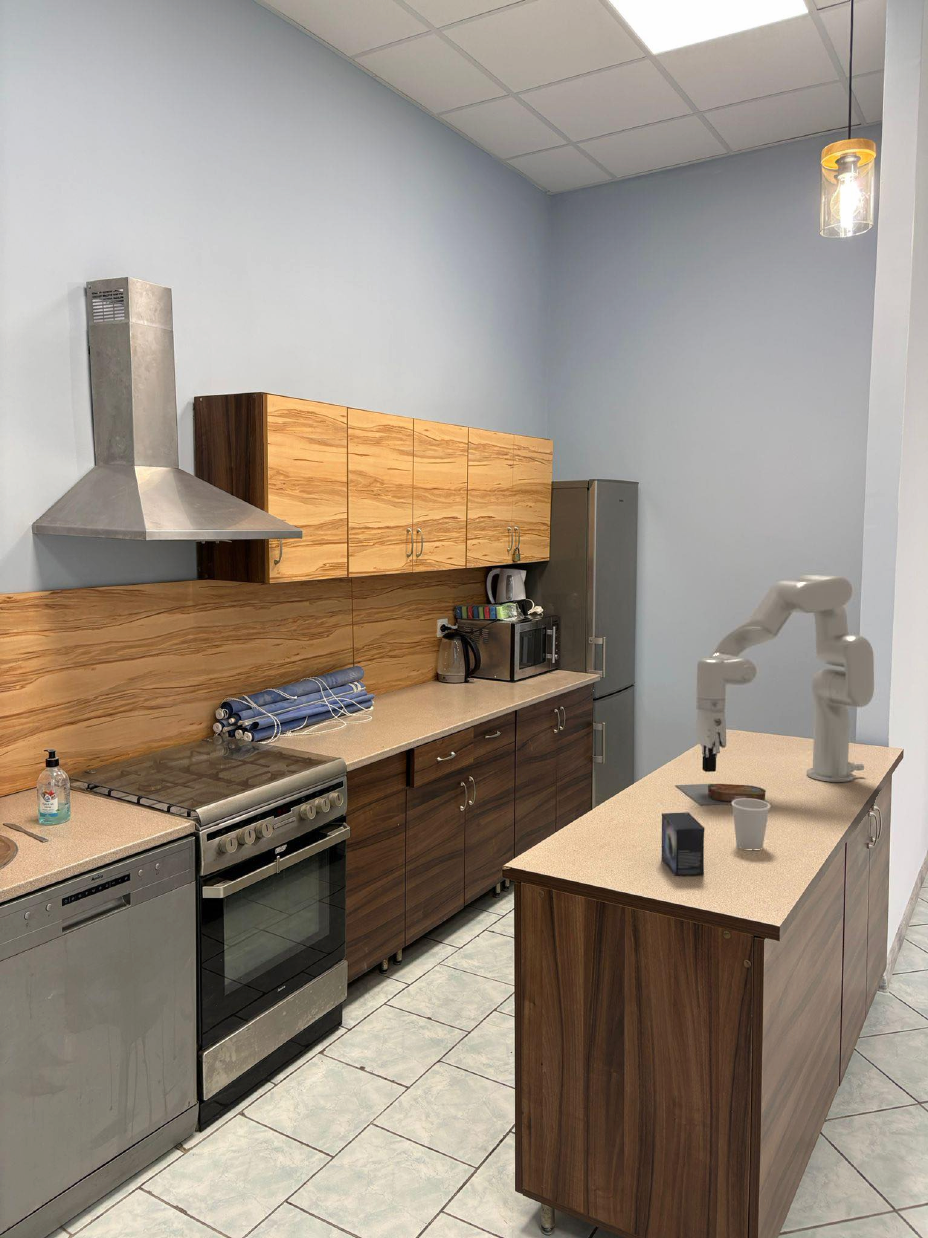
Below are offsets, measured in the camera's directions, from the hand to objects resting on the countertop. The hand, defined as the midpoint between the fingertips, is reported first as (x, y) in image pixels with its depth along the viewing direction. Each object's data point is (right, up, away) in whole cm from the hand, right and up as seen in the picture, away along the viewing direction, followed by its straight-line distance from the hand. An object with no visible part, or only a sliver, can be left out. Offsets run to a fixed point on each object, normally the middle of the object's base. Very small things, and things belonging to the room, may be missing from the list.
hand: (709, 770), depth 245 cm
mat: (-1, -7, +1) cm, 7 cm away
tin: (+6, -5, +1) cm, 8 cm away
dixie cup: (-2, -11, -40) cm, 41 cm away
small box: (-20, -12, -52) cm, 57 cm away
